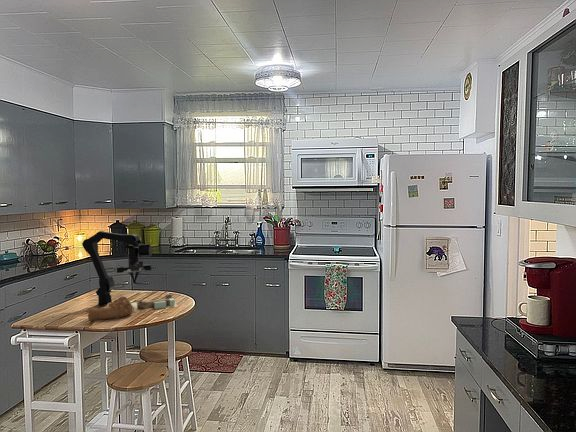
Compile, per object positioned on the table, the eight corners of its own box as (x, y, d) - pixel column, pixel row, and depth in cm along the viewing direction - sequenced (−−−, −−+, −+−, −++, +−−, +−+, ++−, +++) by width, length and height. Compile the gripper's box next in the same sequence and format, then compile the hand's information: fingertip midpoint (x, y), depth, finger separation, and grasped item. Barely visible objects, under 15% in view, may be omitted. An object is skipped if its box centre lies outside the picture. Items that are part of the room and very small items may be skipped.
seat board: (134, 313, 250) (134, 305, 249) (130, 304, 269) (130, 297, 268) (178, 308, 259) (178, 300, 259) (171, 300, 278) (171, 293, 278)
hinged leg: (138, 309, 252) (137, 302, 252) (136, 307, 256) (136, 301, 256) (169, 305, 260) (168, 298, 260) (167, 303, 263) (167, 297, 263)
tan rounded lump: (126, 329, 234) (136, 312, 248) (123, 310, 230) (134, 294, 244) (89, 328, 235) (102, 311, 249) (85, 309, 231) (99, 293, 245)
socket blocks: (154, 308, 254) (154, 302, 254) (152, 306, 260) (152, 300, 260) (175, 306, 258) (175, 300, 258) (173, 303, 264) (173, 298, 264)
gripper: (117, 259, 258) (118, 287, 259) (152, 256, 266) (153, 284, 266) (115, 256, 268) (116, 284, 269) (149, 254, 276) (150, 281, 277)
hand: (134, 283), depth 270 cm, fingers closed
